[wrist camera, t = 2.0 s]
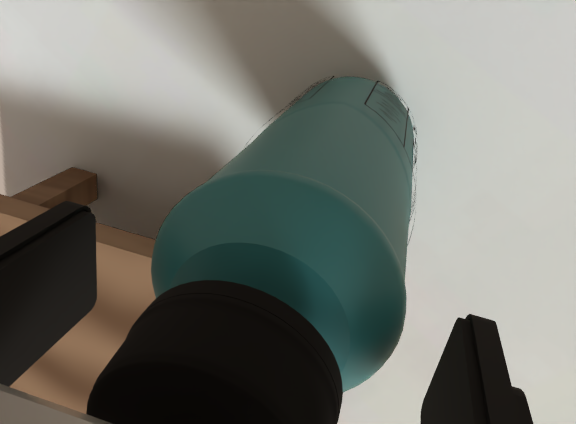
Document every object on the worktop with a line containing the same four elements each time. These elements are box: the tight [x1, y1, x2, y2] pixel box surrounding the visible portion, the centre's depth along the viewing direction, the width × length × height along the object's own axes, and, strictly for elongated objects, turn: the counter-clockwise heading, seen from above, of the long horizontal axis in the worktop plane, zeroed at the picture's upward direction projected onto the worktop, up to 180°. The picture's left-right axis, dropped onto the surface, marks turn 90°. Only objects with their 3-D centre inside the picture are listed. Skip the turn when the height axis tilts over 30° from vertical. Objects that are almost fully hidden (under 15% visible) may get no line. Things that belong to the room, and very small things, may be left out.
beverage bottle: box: [86, 76, 417, 424], centre depth 16 cm, size 6×7×20 cm
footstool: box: [0, 167, 156, 414], centre depth 30 cm, size 20×16×8 cm
